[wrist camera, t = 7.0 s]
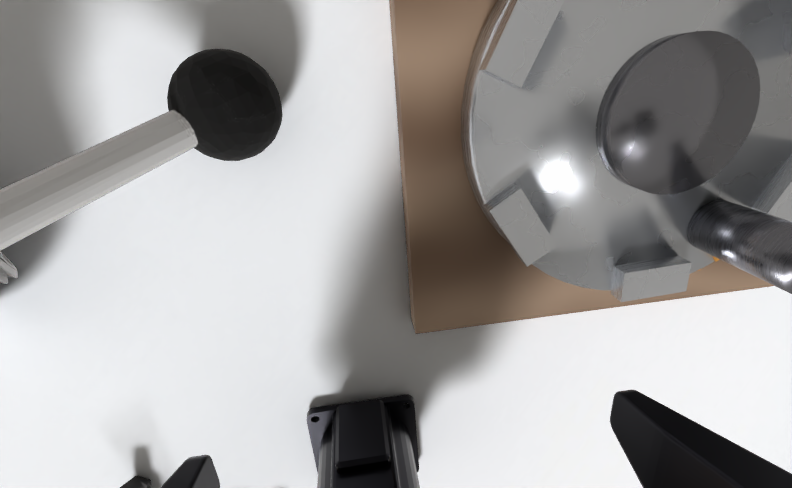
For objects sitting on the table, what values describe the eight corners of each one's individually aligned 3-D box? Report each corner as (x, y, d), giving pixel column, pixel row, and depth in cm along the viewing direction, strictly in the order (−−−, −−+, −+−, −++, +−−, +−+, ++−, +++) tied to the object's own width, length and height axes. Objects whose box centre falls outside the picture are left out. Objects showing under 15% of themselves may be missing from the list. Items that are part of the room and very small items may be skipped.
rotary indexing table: (386, 72, 16) (411, 69, 10) (748, -223, 14) (1039, -438, 8) (561, 326, 22) (640, 416, 16) (835, 145, 20) (1042, 173, 14)
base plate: (750, 274, 25) (778, 288, 23) (411, 318, 23) (416, 337, 22) (883, -179, 17) (942, -207, 15) (378, -164, 15) (382, -193, 13)
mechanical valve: (-381, 210, 14) (-1406, 233, 4) (115, 44, 24) (217, -79, 13) (-104, 395, 19) (-213, 636, 8) (216, 194, 29) (350, 191, 18)
